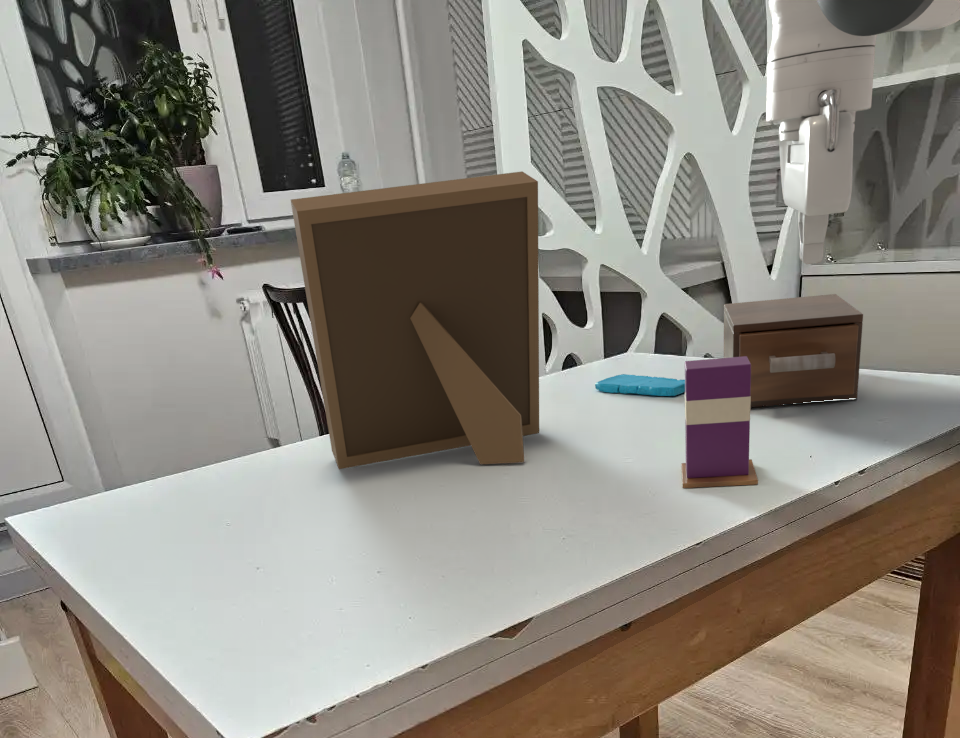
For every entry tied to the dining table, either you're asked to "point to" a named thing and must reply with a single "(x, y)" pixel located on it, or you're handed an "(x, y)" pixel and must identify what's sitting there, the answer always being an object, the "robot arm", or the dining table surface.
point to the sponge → (641, 385)
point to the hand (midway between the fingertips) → (810, 262)
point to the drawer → (801, 361)
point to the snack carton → (717, 417)
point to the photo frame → (425, 316)
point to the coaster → (720, 479)
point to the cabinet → (789, 316)
